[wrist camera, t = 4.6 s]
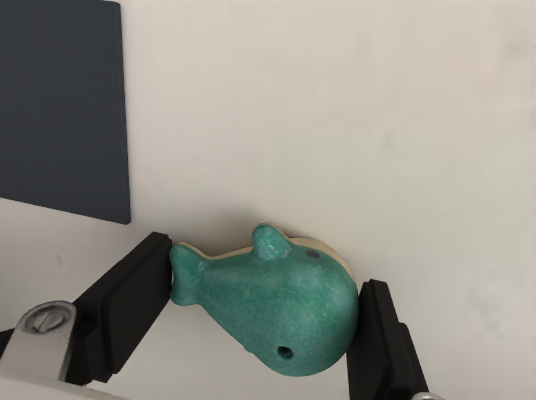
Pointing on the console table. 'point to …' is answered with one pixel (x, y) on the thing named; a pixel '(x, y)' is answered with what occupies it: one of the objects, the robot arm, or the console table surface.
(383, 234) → the console table surface
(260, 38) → the console table surface
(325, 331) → the whale figurine
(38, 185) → the plate
